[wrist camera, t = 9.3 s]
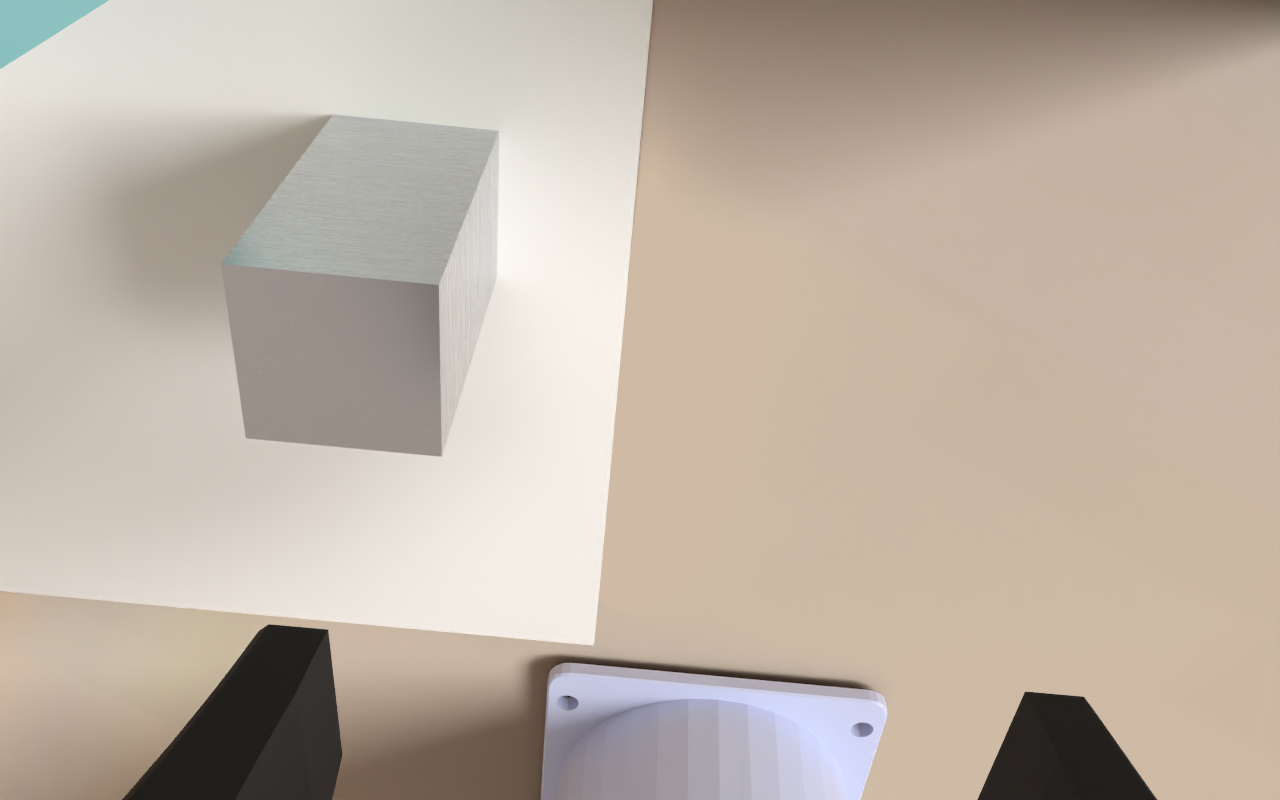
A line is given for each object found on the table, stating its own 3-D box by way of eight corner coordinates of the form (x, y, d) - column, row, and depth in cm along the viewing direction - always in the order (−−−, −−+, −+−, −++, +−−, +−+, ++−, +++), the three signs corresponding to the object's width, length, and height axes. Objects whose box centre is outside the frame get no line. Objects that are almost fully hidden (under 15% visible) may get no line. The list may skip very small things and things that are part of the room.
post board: (598, 595, 25) (593, 645, 24) (-26, 538, 25) (-64, 585, 24) (704, -570, 14) (705, -589, 13) (-441, -694, 14) (-555, -727, 12)
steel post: (496, 277, 19) (441, 456, 15) (343, 262, 19) (245, 438, 15) (499, 130, 17) (438, 285, 13) (332, 114, 17) (221, 264, 13)
